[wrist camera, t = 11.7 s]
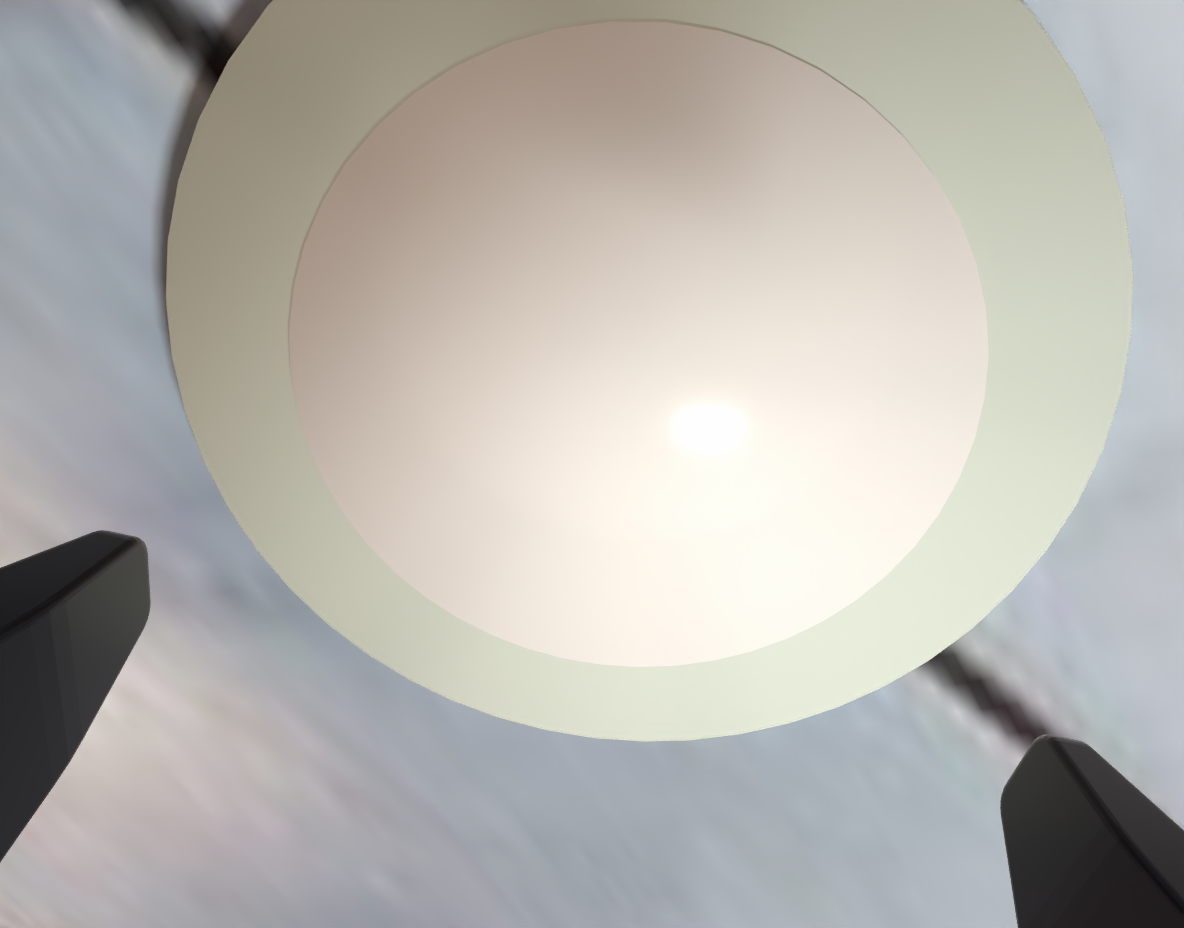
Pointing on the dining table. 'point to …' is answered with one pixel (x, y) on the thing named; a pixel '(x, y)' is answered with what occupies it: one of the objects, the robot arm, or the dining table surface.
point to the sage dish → (649, 338)
